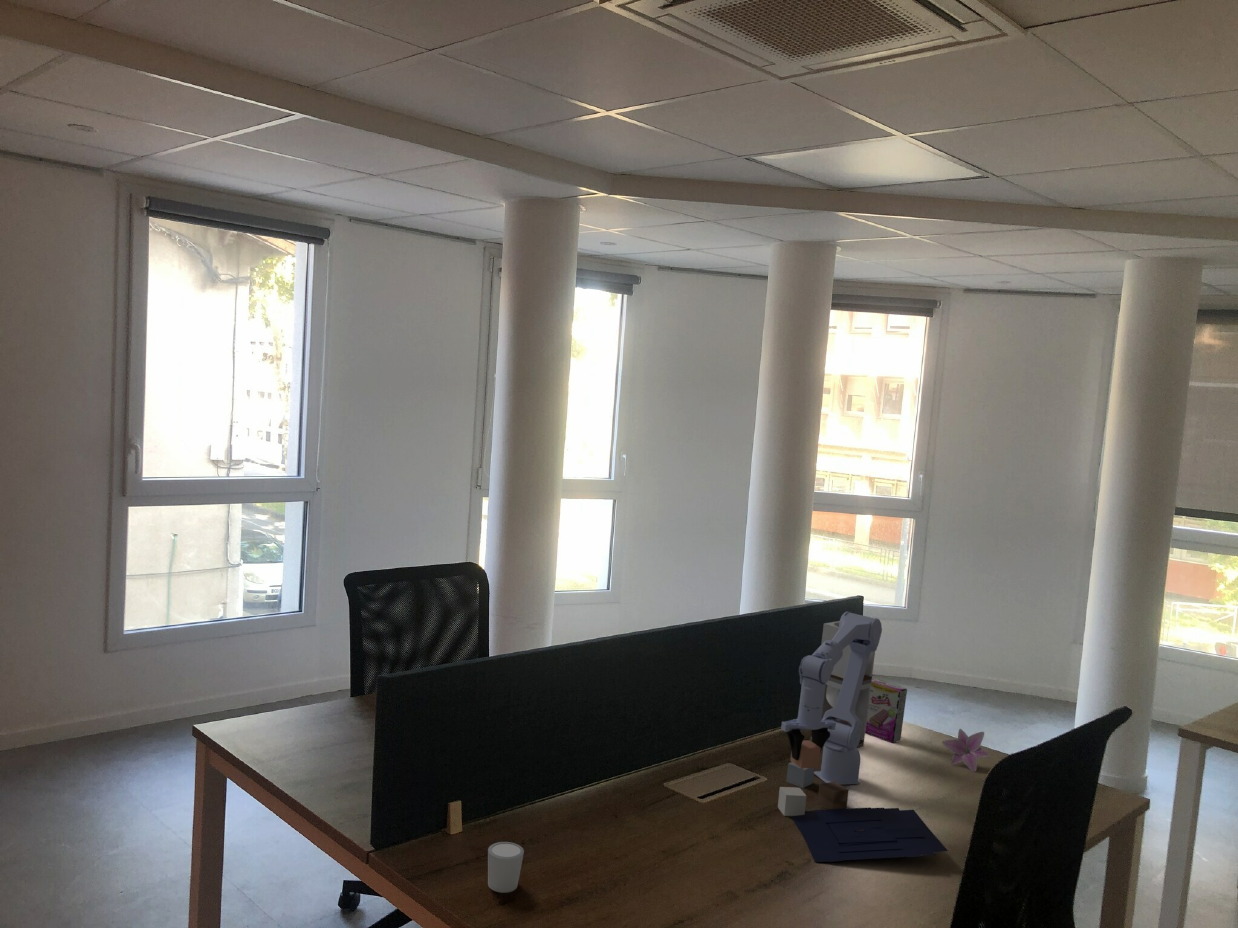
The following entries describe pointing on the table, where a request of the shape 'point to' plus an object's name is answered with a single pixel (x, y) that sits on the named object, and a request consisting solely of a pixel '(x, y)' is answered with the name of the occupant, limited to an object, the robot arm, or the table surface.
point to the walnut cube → (832, 796)
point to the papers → (866, 834)
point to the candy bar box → (886, 710)
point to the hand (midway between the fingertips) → (804, 757)
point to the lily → (966, 749)
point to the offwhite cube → (791, 801)
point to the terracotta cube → (808, 755)
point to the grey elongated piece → (837, 678)
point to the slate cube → (799, 775)
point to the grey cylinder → (504, 866)
